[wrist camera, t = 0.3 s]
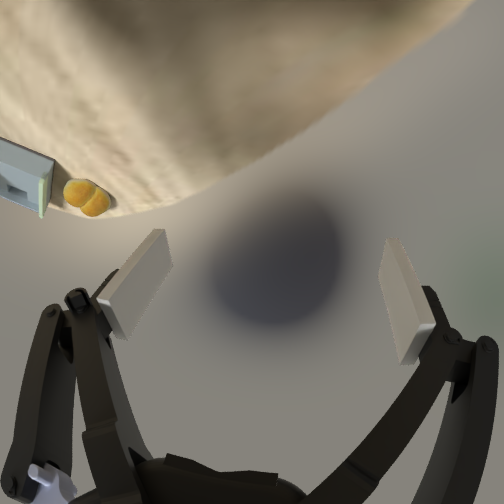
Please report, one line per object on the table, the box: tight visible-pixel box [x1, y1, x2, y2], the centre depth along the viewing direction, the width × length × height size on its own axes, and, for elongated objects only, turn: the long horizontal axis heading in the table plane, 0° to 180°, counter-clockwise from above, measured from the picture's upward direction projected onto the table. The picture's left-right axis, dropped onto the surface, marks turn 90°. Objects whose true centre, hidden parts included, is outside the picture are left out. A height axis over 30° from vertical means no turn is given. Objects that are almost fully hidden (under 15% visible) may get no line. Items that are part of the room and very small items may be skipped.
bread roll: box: [63, 179, 111, 217], centre depth 42 cm, size 8×9×4 cm
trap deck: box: [0, 137, 55, 218], centre depth 33 cm, size 20×16×4 cm
